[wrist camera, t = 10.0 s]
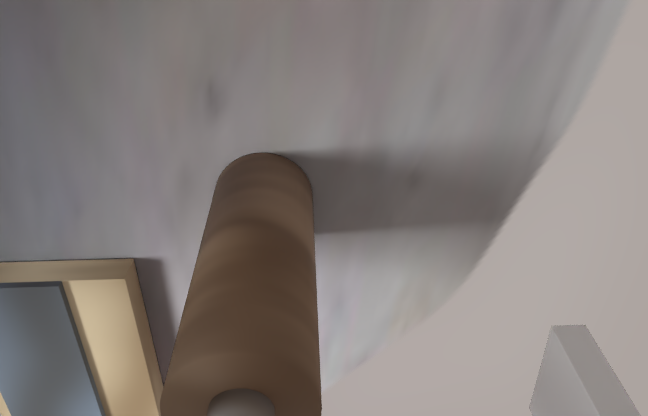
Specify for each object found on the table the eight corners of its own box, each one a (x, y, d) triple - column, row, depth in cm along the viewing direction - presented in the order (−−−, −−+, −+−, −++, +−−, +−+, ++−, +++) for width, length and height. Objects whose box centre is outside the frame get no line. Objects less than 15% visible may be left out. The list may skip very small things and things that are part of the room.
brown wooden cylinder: (220, 237, 20) (165, 497, 12) (209, 154, 18) (136, 389, 10) (313, 235, 20) (324, 490, 12) (311, 151, 19) (321, 383, 10)
